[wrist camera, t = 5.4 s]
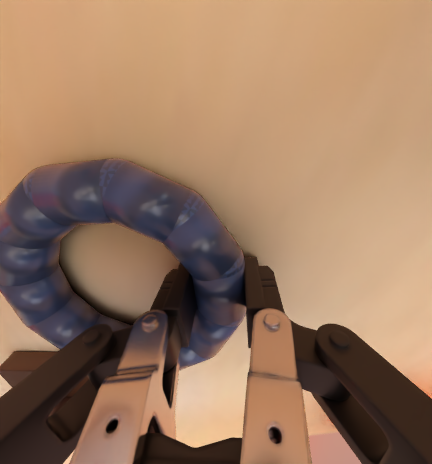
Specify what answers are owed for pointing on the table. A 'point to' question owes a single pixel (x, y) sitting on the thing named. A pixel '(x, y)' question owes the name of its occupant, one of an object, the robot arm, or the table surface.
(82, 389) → the robot arm
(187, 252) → the ring
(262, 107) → the table surface
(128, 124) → the table surface
